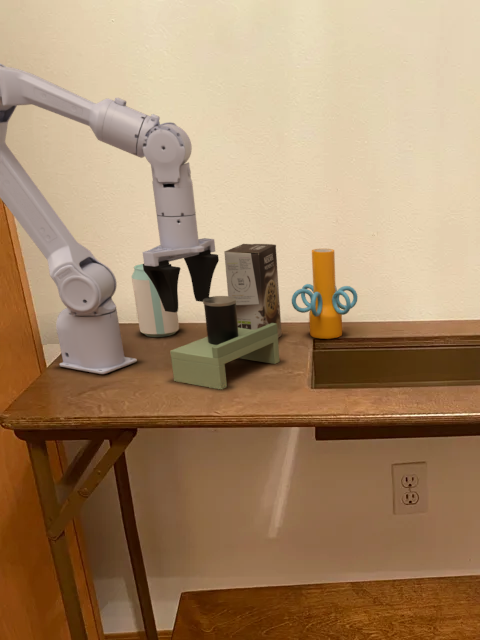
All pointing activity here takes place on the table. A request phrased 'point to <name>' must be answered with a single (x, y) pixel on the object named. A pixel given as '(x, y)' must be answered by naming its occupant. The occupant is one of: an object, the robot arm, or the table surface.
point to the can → (151, 307)
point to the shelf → (223, 356)
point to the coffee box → (254, 285)
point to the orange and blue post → (324, 297)
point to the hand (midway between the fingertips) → (187, 306)
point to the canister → (220, 319)
